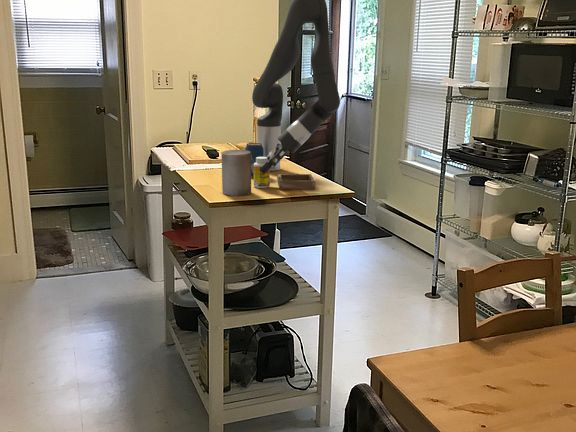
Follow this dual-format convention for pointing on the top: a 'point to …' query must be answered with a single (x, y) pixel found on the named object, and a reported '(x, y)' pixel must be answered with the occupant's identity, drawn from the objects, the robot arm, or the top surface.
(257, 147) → the soda can
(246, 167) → the pillar candle
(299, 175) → the caddy
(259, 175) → the supplement bottle
